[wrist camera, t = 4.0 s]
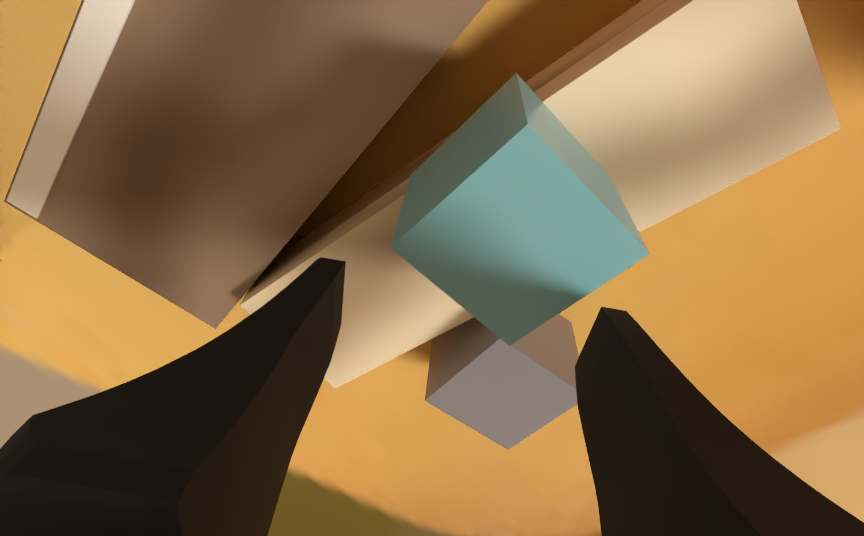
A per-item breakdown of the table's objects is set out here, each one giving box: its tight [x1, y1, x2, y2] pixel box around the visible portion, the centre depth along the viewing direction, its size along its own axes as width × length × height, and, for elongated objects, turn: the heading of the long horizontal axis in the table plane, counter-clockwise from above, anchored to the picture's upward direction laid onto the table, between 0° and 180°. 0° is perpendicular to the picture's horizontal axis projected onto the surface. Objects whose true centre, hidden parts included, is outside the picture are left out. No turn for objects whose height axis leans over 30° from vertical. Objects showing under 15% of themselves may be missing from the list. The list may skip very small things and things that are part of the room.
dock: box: [4, 0, 488, 329], centre depth 15 cm, size 8×20×2 cm, turn 139°
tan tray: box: [240, 0, 841, 388], centre depth 17 cm, size 5×18×3 cm, turn 127°
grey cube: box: [425, 314, 579, 449], centre depth 20 cm, size 4×4×4 cm
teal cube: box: [390, 73, 650, 346], centre depth 13 cm, size 4×4×4 cm
